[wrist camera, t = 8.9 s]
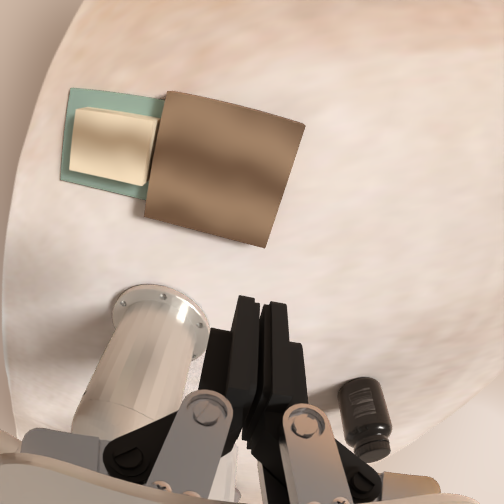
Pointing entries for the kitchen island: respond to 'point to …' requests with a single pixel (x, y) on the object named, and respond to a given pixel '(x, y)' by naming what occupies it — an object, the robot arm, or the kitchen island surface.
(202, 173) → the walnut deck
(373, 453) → the supplement bottle
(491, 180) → the kitchen island surface
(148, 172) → the birch tile
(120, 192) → the rubber mat
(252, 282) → the kitchen island surface
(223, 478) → the grey triangular vase
